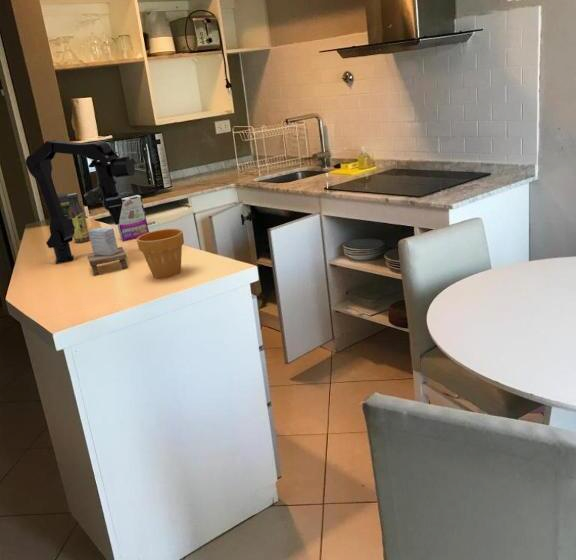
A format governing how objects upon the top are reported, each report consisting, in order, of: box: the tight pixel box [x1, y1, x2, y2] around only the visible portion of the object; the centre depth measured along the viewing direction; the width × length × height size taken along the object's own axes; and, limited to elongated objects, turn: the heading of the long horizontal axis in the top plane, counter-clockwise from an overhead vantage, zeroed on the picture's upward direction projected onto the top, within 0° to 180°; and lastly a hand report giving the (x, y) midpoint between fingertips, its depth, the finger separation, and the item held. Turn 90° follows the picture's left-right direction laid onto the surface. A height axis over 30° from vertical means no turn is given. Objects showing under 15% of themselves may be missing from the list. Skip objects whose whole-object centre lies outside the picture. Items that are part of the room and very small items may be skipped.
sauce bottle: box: [67, 193, 90, 244], centre depth 258 cm, size 6×6×20 cm
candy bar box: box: [117, 194, 150, 242], centre depth 253 cm, size 11×5×16 cm, turn 117°
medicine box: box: [88, 227, 119, 256], centre depth 212 cm, size 8×4×9 cm, turn 59°
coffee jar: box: [57, 192, 70, 219], centre depth 273 cm, size 10×8×19 cm
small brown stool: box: [86, 246, 128, 276], centre depth 214 cm, size 12×12×5 cm
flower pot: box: [136, 228, 185, 279], centre depth 197 cm, size 14×14×13 cm
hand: (115, 222), depth 223 cm, fingers open, 9 cm apart
